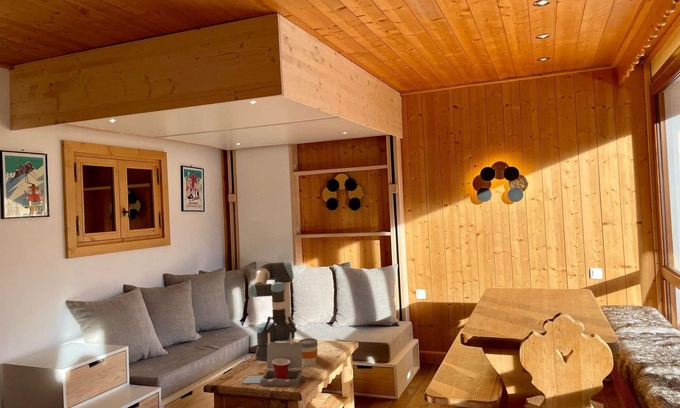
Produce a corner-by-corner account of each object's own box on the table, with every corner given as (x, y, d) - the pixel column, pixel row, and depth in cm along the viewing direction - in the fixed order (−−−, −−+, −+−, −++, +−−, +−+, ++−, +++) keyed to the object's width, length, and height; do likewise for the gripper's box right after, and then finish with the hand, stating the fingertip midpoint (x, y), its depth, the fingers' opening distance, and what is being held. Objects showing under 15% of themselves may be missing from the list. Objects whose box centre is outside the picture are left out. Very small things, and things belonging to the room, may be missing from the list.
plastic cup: (287, 384, 315) (286, 364, 314) (270, 383, 317) (269, 363, 317) (293, 378, 325) (292, 358, 325) (276, 377, 328) (275, 357, 328)
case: (267, 376, 330) (266, 370, 330) (302, 375, 328) (302, 370, 328) (260, 386, 313) (260, 380, 313) (297, 386, 311) (297, 380, 311)
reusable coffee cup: (316, 367, 343) (315, 343, 343) (297, 366, 346) (296, 343, 346) (320, 360, 356) (319, 338, 355) (302, 360, 358) (301, 338, 358)
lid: (266, 370, 329) (267, 369, 331) (301, 370, 327) (302, 369, 329) (266, 342, 332) (267, 342, 333) (301, 342, 329) (301, 342, 331)
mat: (247, 376, 330) (247, 376, 330) (265, 376, 329) (265, 375, 329) (242, 384, 318) (242, 383, 318) (260, 383, 317) (260, 382, 317)
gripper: (256, 310, 318) (258, 345, 318) (298, 309, 315) (299, 345, 315) (259, 307, 325) (261, 342, 325) (300, 306, 323) (302, 341, 323)
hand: (280, 343), depth 320 cm, fingers open, 13 cm apart
